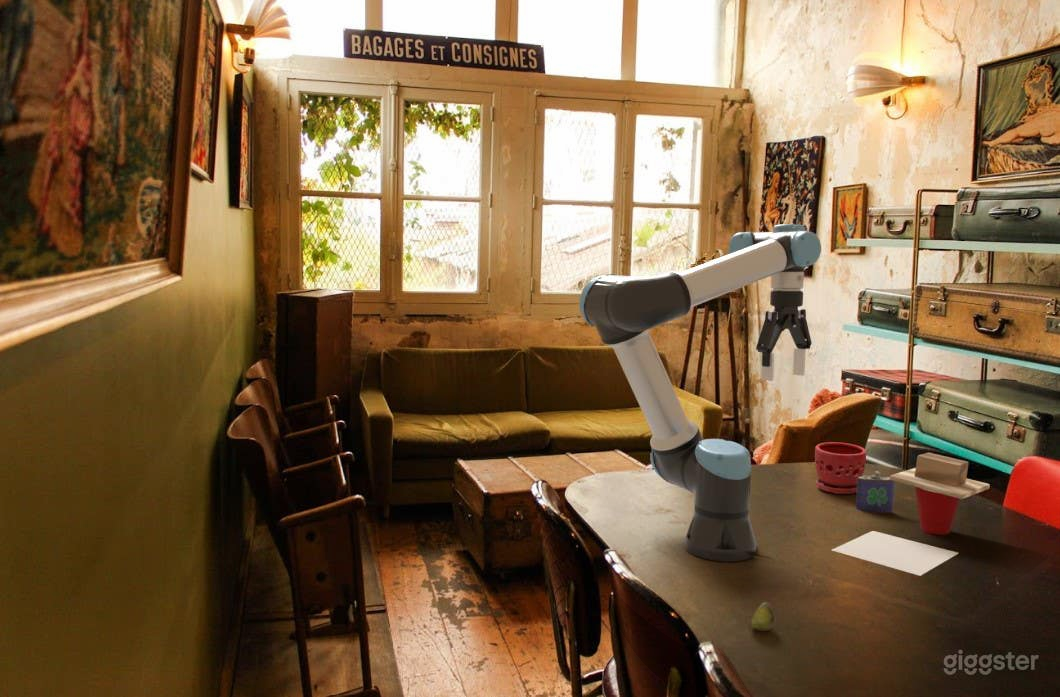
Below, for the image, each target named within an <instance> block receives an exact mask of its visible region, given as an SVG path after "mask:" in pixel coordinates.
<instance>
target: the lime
mask: <svg viewBox="0 0 1060 697" xmlns="http://www.w3.org/2000/svg"><path fill="white" fill-rule="evenodd" d="M776 622H777V612H776V609H775V608H774V606H773V605H772V604H771V603H769V602H768V601H764V602H762V603H761V604H760V605H759V606H758V607H757V609H756V610H755V612H754V613H753V615H752V616H751V619H750V624H749V626H750V627H751V629H754V630H756V631H759V632H767V631H769V630H771V629H772V628H773V627H774V626H775V624H776Z"/></svg>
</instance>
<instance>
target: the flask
mask: <svg viewBox="0 0 1060 697" xmlns="http://www.w3.org/2000/svg"><path fill="white" fill-rule="evenodd" d="M874 472H875V473H873V474H872V475H867V476H866V475H864V474H863V475H862V477H858V478H857V492H856V497H855V498H856V500H855V509H857V510H860V511H867V512H870V513H874V514H878V515H892V514H894V508H895V507H894V505H895V490H896V489H895V486H896V481H893V480H889V479H890V476H887V477H881V475H882V473H881V472H880V471H879V470H878V471H877V470H875V471H874Z"/></svg>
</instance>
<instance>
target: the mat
mask: <svg viewBox="0 0 1060 697" xmlns="http://www.w3.org/2000/svg"><path fill="white" fill-rule="evenodd" d="M831 551H832V552H836V553H839V554H843V555H847V556H849V557H852V558H857V559H861V560H863V561H868V562H870V563H874V564H877V565H881V566H885V567H888V568H891V569H895V570H899V571H902V572H906V573H909V574H912V575H916V576H923V575H924V574H926V573H928V572H929V571H931V570H933V569H934V568H936V567H938V566H940V565H941V564H943V563H945V562H947V561H948V560H950V559H952V558H953V557H955V556H957V555H958V554H959V552H957V551H953V550H950V549H949V550H948V549H945V548H940V547H937V546H932V545H929V544H927V543H921V542H919V541H913V540H910V539H906V538H903V537H898V536H895V535H891V534H887V533H883V532H880V531H879V532H878V531H875V530H871V531H869V532H867V533H865V534H862V535H860V536H858V537H856V538H854V539H851V540H850V541H848V542H845V543H843V544H841V545H839V546H837V547H835V548H832V549H831Z"/></svg>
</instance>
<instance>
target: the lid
mask: <svg viewBox="0 0 1060 697" xmlns="http://www.w3.org/2000/svg"><path fill="white" fill-rule="evenodd" d="M916 457H917V458H916V463H915V464H916V465H915V467H913V468H910V469H906V470H903V471H900V472H897V473H894V474H891V475H889V477H890V479H889V480H893V481H895V483H896V482H897V483H901V484H904V485H908V486H912V487H914V488H915V487H919V488H922V489H926V490H930V491H933V492H937V493H941V494H945V495H948V496H952V497H956V498H959V499H960V500H963V499H965V498H966V499H967V498H968V497H971V496H974V495H977V494H979V493H981V492H984V491H986V490H989V489H990V484H989V483H986V482H982V481H978V480H973V479H971V478H968V477H967V475H968V470H969V469H968V468H969V461H966V460H962V459H957V458H953V457H950V456H945V455H941V454H935V453H932V452H925V453H922V454H919V455H917V456H916Z"/></svg>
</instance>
